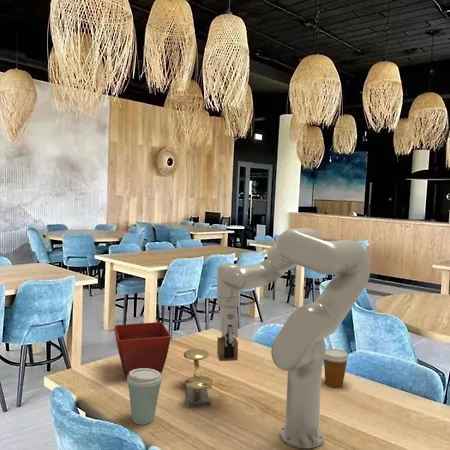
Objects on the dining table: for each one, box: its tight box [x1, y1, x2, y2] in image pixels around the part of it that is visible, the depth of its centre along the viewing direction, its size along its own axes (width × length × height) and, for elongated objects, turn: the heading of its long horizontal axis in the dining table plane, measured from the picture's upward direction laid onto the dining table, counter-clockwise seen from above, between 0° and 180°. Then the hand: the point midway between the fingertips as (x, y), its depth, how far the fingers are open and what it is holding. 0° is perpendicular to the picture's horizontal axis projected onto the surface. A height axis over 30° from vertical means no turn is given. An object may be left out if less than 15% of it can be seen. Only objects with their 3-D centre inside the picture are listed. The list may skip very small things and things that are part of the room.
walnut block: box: [216, 336, 239, 362], centre depth 148 cm, size 6×6×6 cm
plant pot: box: [114, 321, 171, 381], centre depth 170 cm, size 19×19×17 cm
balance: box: [183, 348, 214, 408], centre depth 154 cm, size 23×9×12 cm, turn 8°
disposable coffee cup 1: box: [126, 368, 163, 425], centre depth 135 cm, size 11×11×15 cm
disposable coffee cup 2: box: [323, 348, 350, 388], centre depth 166 cm, size 10×10×12 cm
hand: (227, 354), depth 148 cm, fingers closed on walnut block, 6 cm apart
